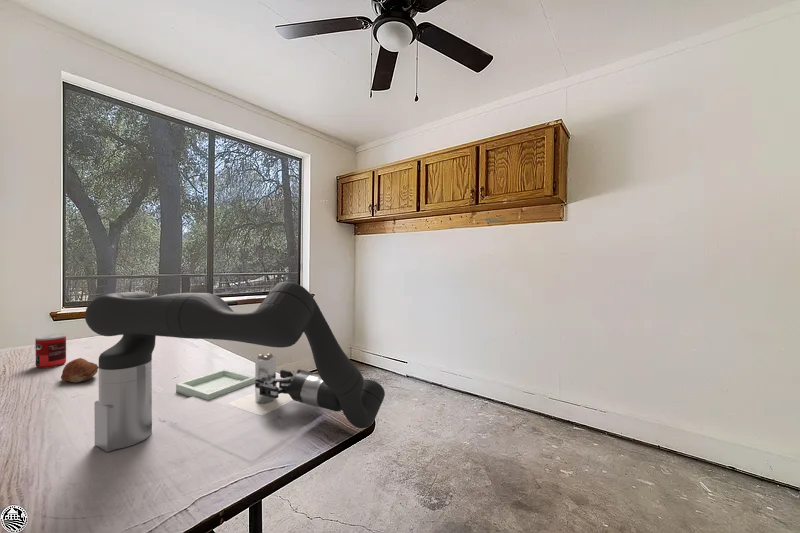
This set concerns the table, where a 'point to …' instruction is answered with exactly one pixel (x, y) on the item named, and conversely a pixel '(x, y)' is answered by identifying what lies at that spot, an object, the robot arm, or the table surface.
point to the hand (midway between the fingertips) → (269, 377)
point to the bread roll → (79, 370)
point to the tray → (214, 384)
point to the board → (260, 409)
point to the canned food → (50, 350)
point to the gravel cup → (264, 375)
